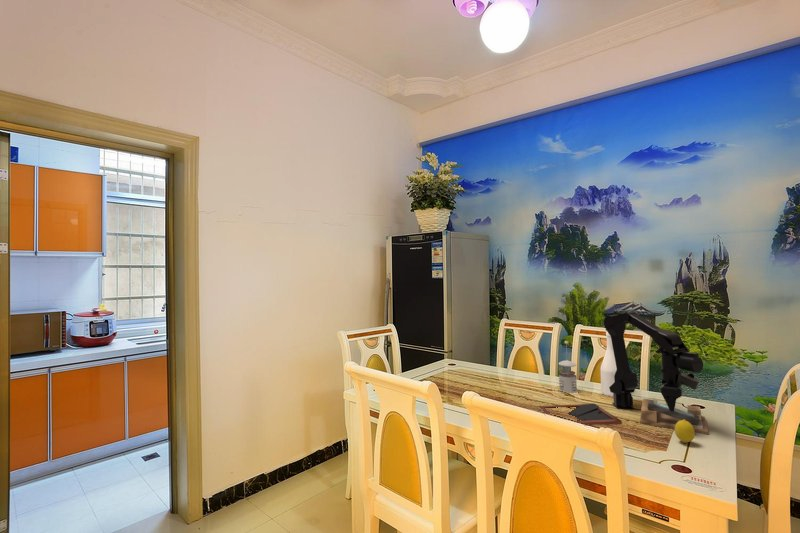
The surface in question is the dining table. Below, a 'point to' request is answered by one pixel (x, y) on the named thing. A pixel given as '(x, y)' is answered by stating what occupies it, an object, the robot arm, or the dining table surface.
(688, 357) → the robot arm
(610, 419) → the picture frame
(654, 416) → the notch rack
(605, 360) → the wine bottle
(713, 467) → the dining table surface
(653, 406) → the picture frame
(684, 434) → the lemon
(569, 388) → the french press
